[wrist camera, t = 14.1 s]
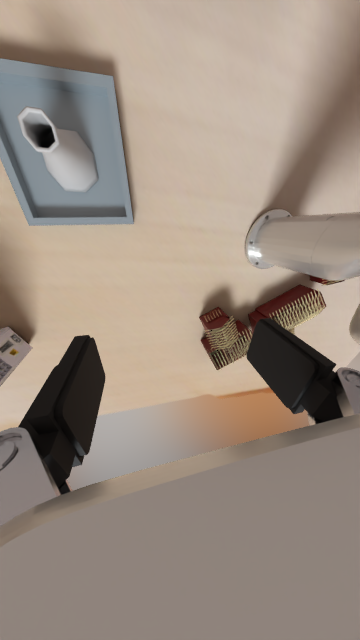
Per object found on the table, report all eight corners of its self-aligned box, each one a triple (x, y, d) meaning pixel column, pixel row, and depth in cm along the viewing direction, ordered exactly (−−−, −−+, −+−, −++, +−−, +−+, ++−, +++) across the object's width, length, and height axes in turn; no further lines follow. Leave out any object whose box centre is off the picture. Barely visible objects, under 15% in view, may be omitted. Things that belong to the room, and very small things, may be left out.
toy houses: (211, 360, 55) (225, 385, 47) (188, 316, 44) (201, 338, 36) (328, 298, 54) (364, 311, 46) (335, 236, 43) (384, 239, 35)
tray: (114, 90, 22) (112, 76, 20) (133, 223, 30) (133, 223, 28) (-26, 70, 19) (-46, 51, 17) (37, 225, 27) (29, 225, 25)
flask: (29, 137, 22) (-35, 82, 14) (79, 121, 22) (47, 58, 14) (64, 200, 26) (31, 187, 18) (107, 185, 26) (94, 166, 18)
